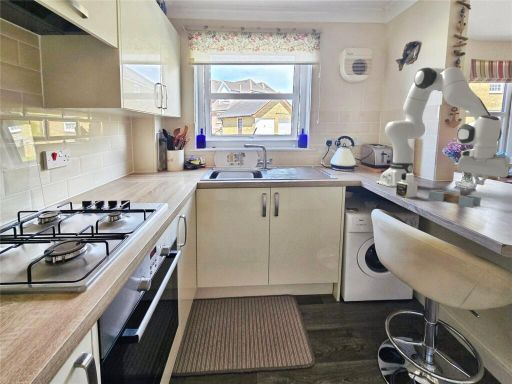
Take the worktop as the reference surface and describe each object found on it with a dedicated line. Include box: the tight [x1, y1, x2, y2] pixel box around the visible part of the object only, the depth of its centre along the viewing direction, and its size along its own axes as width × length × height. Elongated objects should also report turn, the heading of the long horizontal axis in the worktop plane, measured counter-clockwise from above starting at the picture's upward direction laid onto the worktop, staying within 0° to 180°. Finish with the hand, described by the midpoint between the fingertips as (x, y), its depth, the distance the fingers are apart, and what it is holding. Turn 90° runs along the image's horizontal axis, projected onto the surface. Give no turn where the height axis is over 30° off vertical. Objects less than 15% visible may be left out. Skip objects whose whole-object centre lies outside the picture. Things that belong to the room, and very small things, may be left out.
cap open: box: [457, 194, 482, 208], centre depth 152 cm, size 6×6×4 cm
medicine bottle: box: [395, 172, 419, 199], centre depth 172 cm, size 7×7×12 cm
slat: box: [435, 191, 469, 205], centre depth 160 cm, size 16×3×4 cm, turn 27°
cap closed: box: [428, 189, 453, 202], centre depth 165 cm, size 8×6×4 cm
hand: (479, 184), depth 149 cm, fingers closed
